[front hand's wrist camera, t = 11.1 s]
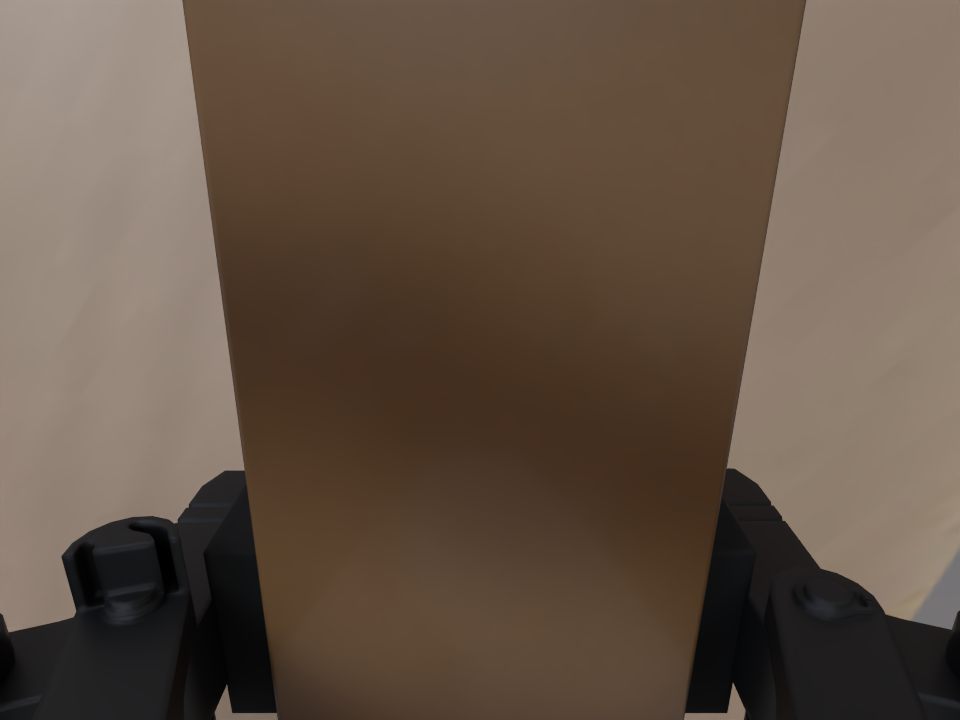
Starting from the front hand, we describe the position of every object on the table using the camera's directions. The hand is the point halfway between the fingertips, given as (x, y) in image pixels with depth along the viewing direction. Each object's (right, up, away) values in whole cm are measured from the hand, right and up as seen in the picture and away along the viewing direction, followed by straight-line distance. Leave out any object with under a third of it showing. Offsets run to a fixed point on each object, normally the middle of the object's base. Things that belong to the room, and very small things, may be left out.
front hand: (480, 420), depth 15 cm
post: (0, +22, -8) cm, 23 cm away
